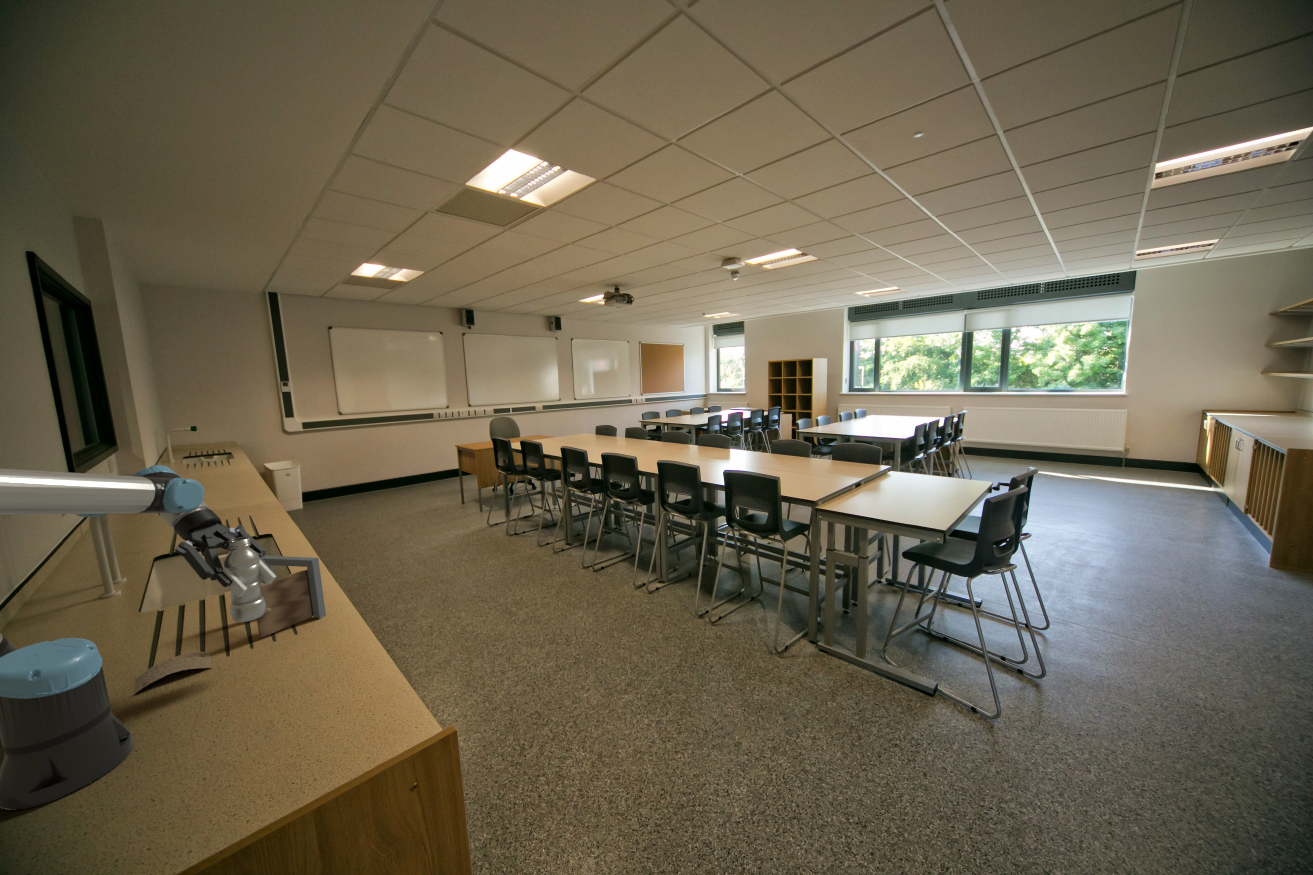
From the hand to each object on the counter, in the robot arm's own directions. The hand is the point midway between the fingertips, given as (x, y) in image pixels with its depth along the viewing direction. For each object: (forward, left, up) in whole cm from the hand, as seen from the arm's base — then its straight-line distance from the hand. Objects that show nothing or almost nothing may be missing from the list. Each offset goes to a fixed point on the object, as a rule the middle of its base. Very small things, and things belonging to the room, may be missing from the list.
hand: (258, 586), depth 108 cm
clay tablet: (-5, +22, -22) cm, 31 cm away
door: (+16, +12, -20) cm, 28 cm away
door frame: (+22, +17, -21) cm, 34 cm away
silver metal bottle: (0, +4, -9) cm, 9 cm away
